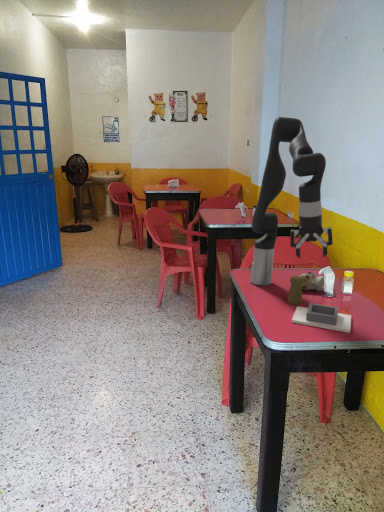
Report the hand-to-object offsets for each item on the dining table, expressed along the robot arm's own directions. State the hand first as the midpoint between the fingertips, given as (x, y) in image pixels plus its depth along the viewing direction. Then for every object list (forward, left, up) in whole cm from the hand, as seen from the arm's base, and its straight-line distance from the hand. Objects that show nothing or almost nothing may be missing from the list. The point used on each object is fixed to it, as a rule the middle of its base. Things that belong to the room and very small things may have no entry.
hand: (311, 256), depth 142 cm
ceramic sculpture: (-3, +33, -24) cm, 42 cm away
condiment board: (+6, +1, -24) cm, 25 cm away
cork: (-6, +15, -24) cm, 29 cm away
